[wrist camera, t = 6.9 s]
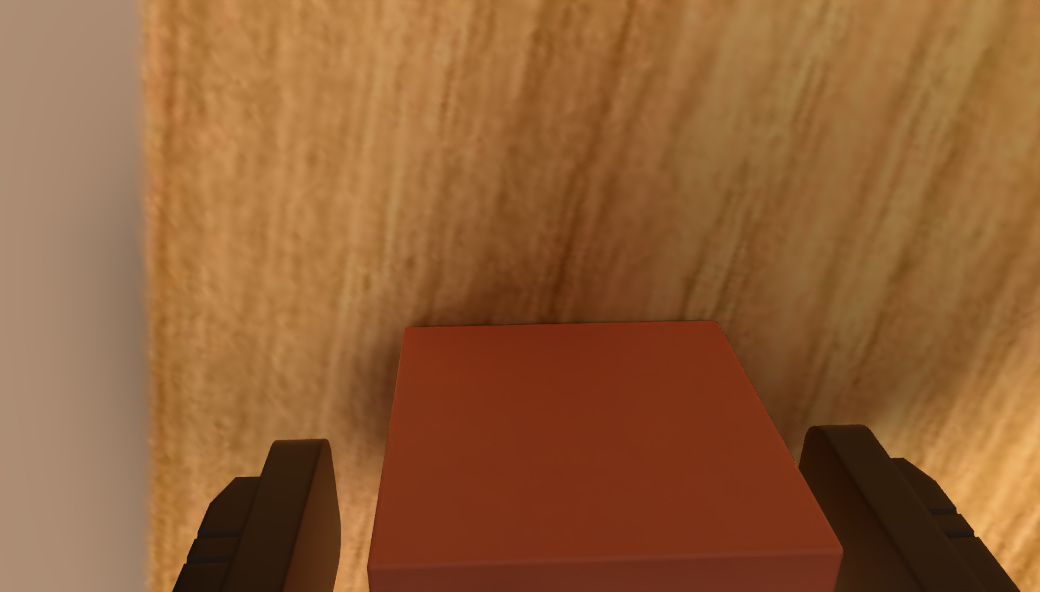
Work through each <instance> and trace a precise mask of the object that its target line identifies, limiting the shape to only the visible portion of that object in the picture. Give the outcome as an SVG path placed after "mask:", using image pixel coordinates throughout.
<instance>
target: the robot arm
mask: <svg viewBox="0 0 1040 592" xmlns="http://www.w3.org/2000/svg"><path fill="white" fill-rule="evenodd" d="M799 470H800V472H801V474H802V475H803V477H804V479H805V481H806V483H807V485H808V486H809V488H810V490H811V492H812V494H813V495H814V497H815V499H816V501H817V503H818V504H819V506H820V508H821V510H822V512H823V513H824V515H825V517H826V519H827V521H828V522H829V524H830V526H831V528H832V530H833V531H834V533H835V535H836V537H837V539H838V540H839V542H840V544H841V546H842V548H843V558H842V561H841V565H840V569H839V573H838V577H837V581H836V585H835V588H834V592H1020V590H1019V589H1018V588H1017V586H1016V585H1015V584H1014V582H1013V581H1012V580H1011V579H1010V577H1009V576H1008V575H1007V573H1006V572H1005V571H1004V569H1003V568H1002V567H1001V565H1000V564H999V563H998V562H997V560H996V559H995V558H994V556H993V555H992V554H991V552H990V551H989V550H988V549H987V547H986V546H985V545H984V543H983V542H982V541H981V539H980V538H979V537H975V536H974V530H973V529H972V528H971V526H970V525H969V524H968V523H967V521H966V520H965V519H964V517H963V516H962V515H961V514H957V511H956V509H957V508H956V507H955V506H954V504H953V503H952V502H951V500H950V499H949V498H948V497H947V495H946V494H945V493H944V491H943V490H942V489H941V487H940V486H939V485H938V484H937V482H936V481H935V480H933V479H932V478H931V477H929V476H928V475H927V474H925V473H924V472H922V471H921V470H920V469H918V468H917V467H916V466H914V465H913V464H911V463H910V462H909V461H907V460H906V459H904V458H890V457H889V455H888V454H887V452H886V451H885V450H884V448H883V447H882V445H881V444H880V443H879V441H878V440H877V439H876V437H875V436H874V434H873V433H872V432H871V430H870V429H869V428H868V427H866V426H865V425H861V424H857V425H823V426H811V427H810V428H809V429H808V431H807V433H806V435H805V439H804V444H803V449H802V453H801V458H800V463H799ZM197 534H198V536H197V539H195V540H194V542H193V544H192V547H191V549H190V551H189V554H188V556H187V563H186V564H184V565H183V568H182V570H181V572H180V575H179V577H178V579H177V582H176V584H175V586H174V589H173V591H172V592H333V589H334V584H335V579H336V574H337V569H338V564H339V558H340V547H341V522H340V513H339V505H338V498H337V491H336V483H335V476H334V469H333V461H332V454H331V448H330V444H329V441H328V440H327V439H303V440H276V441H274V442H273V444H272V446H271V448H270V451H269V454H268V456H267V459H266V462H265V465H264V467H263V470H262V473H261V476H260V477H236V478H235V479H234V480H233V481H232V482H231V483H230V484H229V485H228V486H227V487H226V488H225V489H224V490H223V491H222V492H221V493H220V494H219V495H218V496H217V497H216V498H215V499H214V500H213V501H212V502H211V503H210V504H209V507H208V509H207V511H206V514H205V516H204V518H203V521H202V523H201V525H200V528H199V530H198V533H197Z"/></svg>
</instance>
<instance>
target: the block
mask: <svg viewBox="0 0 1040 592" xmlns="http://www.w3.org/2000/svg"><path fill="white" fill-rule="evenodd" d="M842 558H843V548H842V546H841V544H840V542H839V540H838V539H837V537H836V535H835V533H834V531H833V530H832V528H831V526H830V524H829V522H828V521H827V519H826V517H825V515H824V513H823V512H822V510H821V508H820V506H819V504H818V503H817V501H816V499H815V497H814V495H813V494H812V492H811V490H810V488H809V486H808V485H807V483H806V481H805V479H804V477H803V475H802V474H801V472H800V470H799V468H798V466H797V465H796V463H795V461H794V459H793V457H792V456H791V454H790V452H789V450H788V448H787V447H786V445H785V443H784V441H783V439H782V438H781V436H780V434H779V432H778V430H777V429H776V427H775V425H774V423H773V421H772V420H771V418H770V416H769V414H768V412H767V411H766V409H765V407H764V405H763V403H762V402H761V400H760V398H759V396H758V394H757V393H756V391H755V389H754V387H753V385H752V384H751V382H750V380H749V378H748V376H747V375H746V373H745V371H744V369H743V367H742V366H741V364H740V362H739V360H738V358H737V357H736V355H735V353H734V351H733V349H732V348H731V346H730V344H729V342H728V340H727V339H726V337H725V335H724V333H723V331H722V330H721V328H720V326H719V324H718V322H716V321H713V320H712V321H667V322H621V323H576V324H530V325H485V326H439V327H407V328H405V330H404V334H403V340H402V347H401V353H400V360H399V366H398V373H397V379H396V385H395V392H394V398H393V405H392V411H391V417H390V424H389V430H388V437H387V443H386V449H385V456H384V462H383V469H382V475H381V482H380V488H379V494H378V501H377V507H376V514H375V520H374V526H373V533H372V539H371V546H370V552H369V558H368V565H367V572H368V581H369V589H370V592H834V588H835V585H836V581H837V577H838V573H839V569H840V565H841V561H842Z"/></svg>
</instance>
